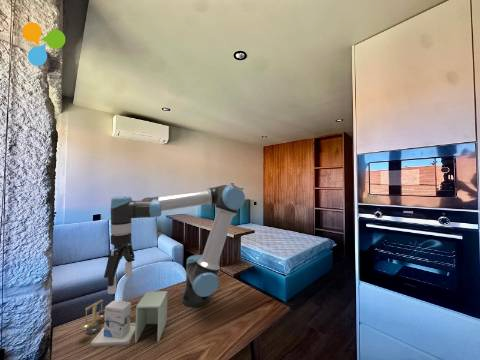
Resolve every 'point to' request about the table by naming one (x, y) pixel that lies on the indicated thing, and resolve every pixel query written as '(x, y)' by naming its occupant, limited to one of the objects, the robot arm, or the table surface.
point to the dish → (111, 341)
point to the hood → (151, 312)
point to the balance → (93, 319)
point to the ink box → (117, 319)
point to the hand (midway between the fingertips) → (121, 284)
